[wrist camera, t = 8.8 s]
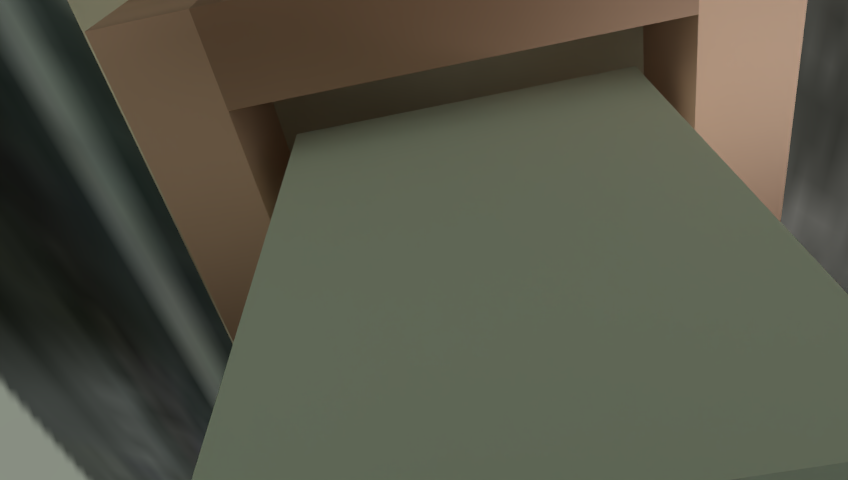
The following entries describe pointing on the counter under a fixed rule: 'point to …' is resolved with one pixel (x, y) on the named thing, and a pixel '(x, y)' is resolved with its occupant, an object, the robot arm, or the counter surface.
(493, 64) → the pink and beige box
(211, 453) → the sage block
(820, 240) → the counter surface
